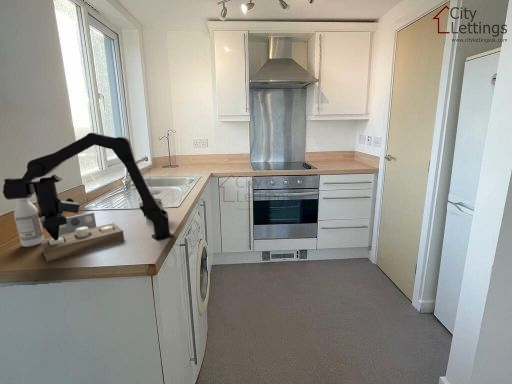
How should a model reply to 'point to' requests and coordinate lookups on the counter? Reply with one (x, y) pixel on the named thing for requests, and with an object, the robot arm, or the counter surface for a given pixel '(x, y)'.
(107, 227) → the button
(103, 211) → the counter surface
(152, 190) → the french press
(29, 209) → the bath foam
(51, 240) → the button
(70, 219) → the placard
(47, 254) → the board
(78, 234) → the button middle
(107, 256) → the counter surface
